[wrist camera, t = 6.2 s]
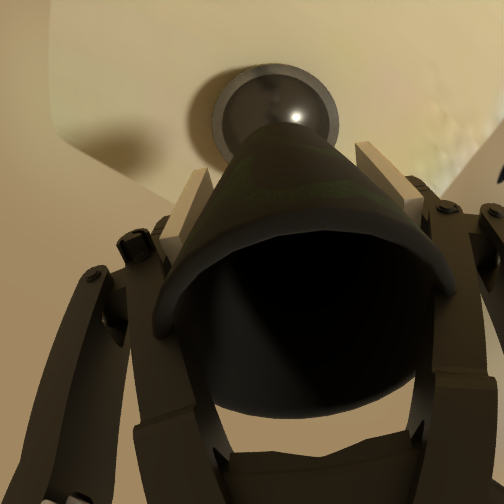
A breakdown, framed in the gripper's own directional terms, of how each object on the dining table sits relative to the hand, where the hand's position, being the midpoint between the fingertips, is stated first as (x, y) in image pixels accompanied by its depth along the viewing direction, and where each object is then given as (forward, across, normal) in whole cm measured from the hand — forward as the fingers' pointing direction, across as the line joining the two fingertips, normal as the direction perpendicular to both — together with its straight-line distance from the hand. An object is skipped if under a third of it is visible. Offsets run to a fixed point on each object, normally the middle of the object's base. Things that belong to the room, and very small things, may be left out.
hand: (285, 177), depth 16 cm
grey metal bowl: (+14, 0, 0) cm, 14 cm away
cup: (+1, 0, 0) cm, 1 cm away
